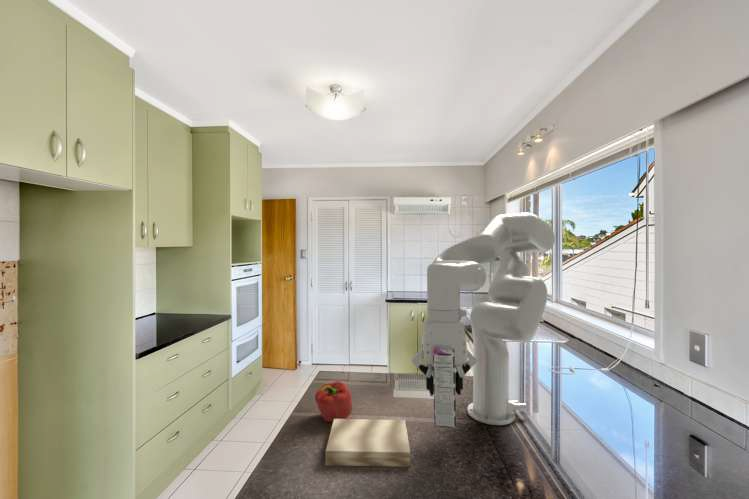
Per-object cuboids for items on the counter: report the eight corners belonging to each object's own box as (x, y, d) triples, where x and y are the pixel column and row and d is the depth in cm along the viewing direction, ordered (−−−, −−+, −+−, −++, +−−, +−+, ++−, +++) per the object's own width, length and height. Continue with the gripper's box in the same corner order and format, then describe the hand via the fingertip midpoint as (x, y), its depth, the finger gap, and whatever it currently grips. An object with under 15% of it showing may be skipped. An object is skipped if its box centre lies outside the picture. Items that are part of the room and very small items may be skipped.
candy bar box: (434, 403, 85) (433, 338, 85) (454, 405, 84) (454, 339, 84) (433, 426, 74) (432, 352, 74) (456, 429, 73) (455, 353, 73)
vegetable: (335, 433, 84) (336, 393, 84) (304, 422, 90) (305, 384, 90) (360, 416, 94) (360, 379, 94) (331, 406, 99) (331, 372, 99)
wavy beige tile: (404, 431, 86) (404, 419, 86) (410, 466, 72) (410, 452, 72) (333, 430, 86) (334, 418, 86) (325, 465, 72) (325, 450, 72)
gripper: (475, 312, 83) (476, 385, 83) (405, 312, 83) (406, 386, 83) (485, 318, 75) (486, 399, 75) (408, 319, 75) (409, 400, 76)
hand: (444, 391), depth 79 cm, fingers closed on candy bar box, 5 cm apart
